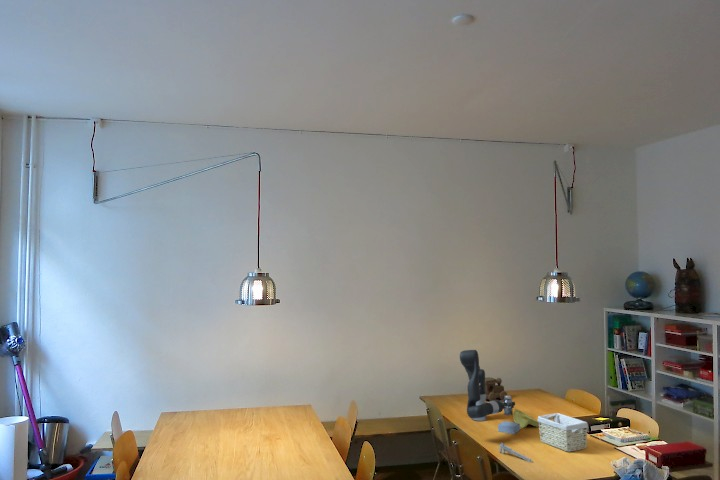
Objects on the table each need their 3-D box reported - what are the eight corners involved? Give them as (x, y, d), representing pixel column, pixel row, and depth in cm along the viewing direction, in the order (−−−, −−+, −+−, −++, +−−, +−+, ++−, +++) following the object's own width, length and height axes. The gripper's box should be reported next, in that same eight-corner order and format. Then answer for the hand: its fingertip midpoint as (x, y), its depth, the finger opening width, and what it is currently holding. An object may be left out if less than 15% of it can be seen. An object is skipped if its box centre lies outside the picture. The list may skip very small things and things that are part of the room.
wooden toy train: (487, 403, 401) (486, 380, 402) (478, 399, 411) (477, 378, 412) (509, 399, 408) (508, 378, 409) (500, 396, 419) (499, 375, 420)
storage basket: (537, 441, 309) (536, 415, 310) (559, 437, 315) (557, 412, 316) (567, 453, 287) (566, 426, 288) (590, 449, 293) (589, 422, 294)
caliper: (499, 453, 291) (498, 441, 291) (500, 453, 292) (500, 441, 292) (532, 463, 275) (531, 450, 276) (533, 462, 276) (532, 450, 276)
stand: (498, 431, 329) (498, 424, 330) (504, 427, 337) (504, 421, 338) (514, 434, 324) (513, 427, 324) (519, 429, 332) (519, 423, 332)
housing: (502, 414, 330) (502, 396, 331) (505, 412, 335) (505, 394, 335) (510, 415, 327) (510, 397, 328) (514, 413, 332) (513, 395, 332)
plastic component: (541, 423, 336) (528, 417, 334) (536, 434, 335) (523, 428, 334) (525, 413, 355) (513, 407, 354) (521, 423, 355) (508, 418, 353)
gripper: (503, 402, 317) (520, 398, 328) (483, 398, 328) (500, 394, 339) (503, 415, 317) (520, 410, 327) (484, 411, 328) (501, 406, 338)
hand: (510, 402), depth 333 cm, fingers closed on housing, 5 cm apart
